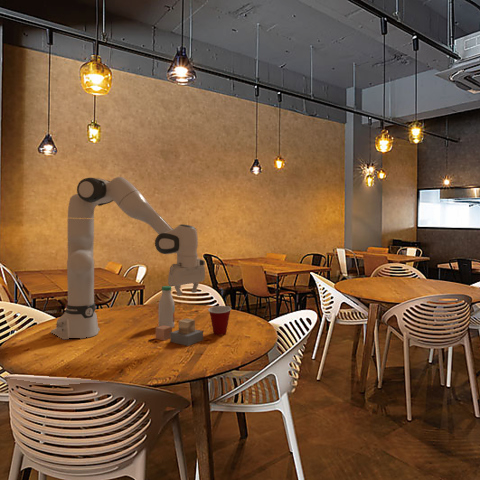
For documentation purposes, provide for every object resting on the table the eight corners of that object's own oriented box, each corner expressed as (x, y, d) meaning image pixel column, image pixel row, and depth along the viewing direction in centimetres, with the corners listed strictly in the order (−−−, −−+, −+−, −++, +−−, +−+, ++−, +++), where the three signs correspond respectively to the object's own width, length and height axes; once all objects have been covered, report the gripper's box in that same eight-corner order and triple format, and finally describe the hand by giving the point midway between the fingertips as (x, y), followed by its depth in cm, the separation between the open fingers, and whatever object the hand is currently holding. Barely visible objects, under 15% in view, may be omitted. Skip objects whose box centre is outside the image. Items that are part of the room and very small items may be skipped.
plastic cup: (202, 333, 183) (203, 308, 182) (219, 329, 191) (219, 304, 190) (219, 338, 176) (219, 312, 175) (235, 333, 183) (236, 308, 183)
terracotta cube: (155, 338, 175) (155, 327, 174) (163, 336, 179) (163, 325, 179) (163, 340, 172) (163, 329, 172) (171, 337, 176) (171, 326, 176)
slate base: (170, 341, 170) (170, 332, 170) (185, 336, 179) (185, 327, 179) (187, 345, 165) (188, 336, 165) (203, 340, 173) (203, 331, 173)
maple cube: (187, 334, 168) (187, 322, 168) (178, 332, 171) (178, 320, 171) (194, 331, 172) (195, 320, 172) (186, 329, 175) (186, 318, 175)
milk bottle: (171, 329, 189) (171, 288, 188) (155, 328, 191) (155, 287, 190) (176, 325, 197) (176, 285, 196) (162, 324, 198) (162, 284, 197)
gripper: (175, 264, 160) (175, 298, 160) (207, 261, 177) (207, 291, 177) (164, 263, 163) (164, 296, 164) (196, 260, 180) (196, 290, 181)
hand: (186, 294), depth 171 cm, fingers open, 8 cm apart
